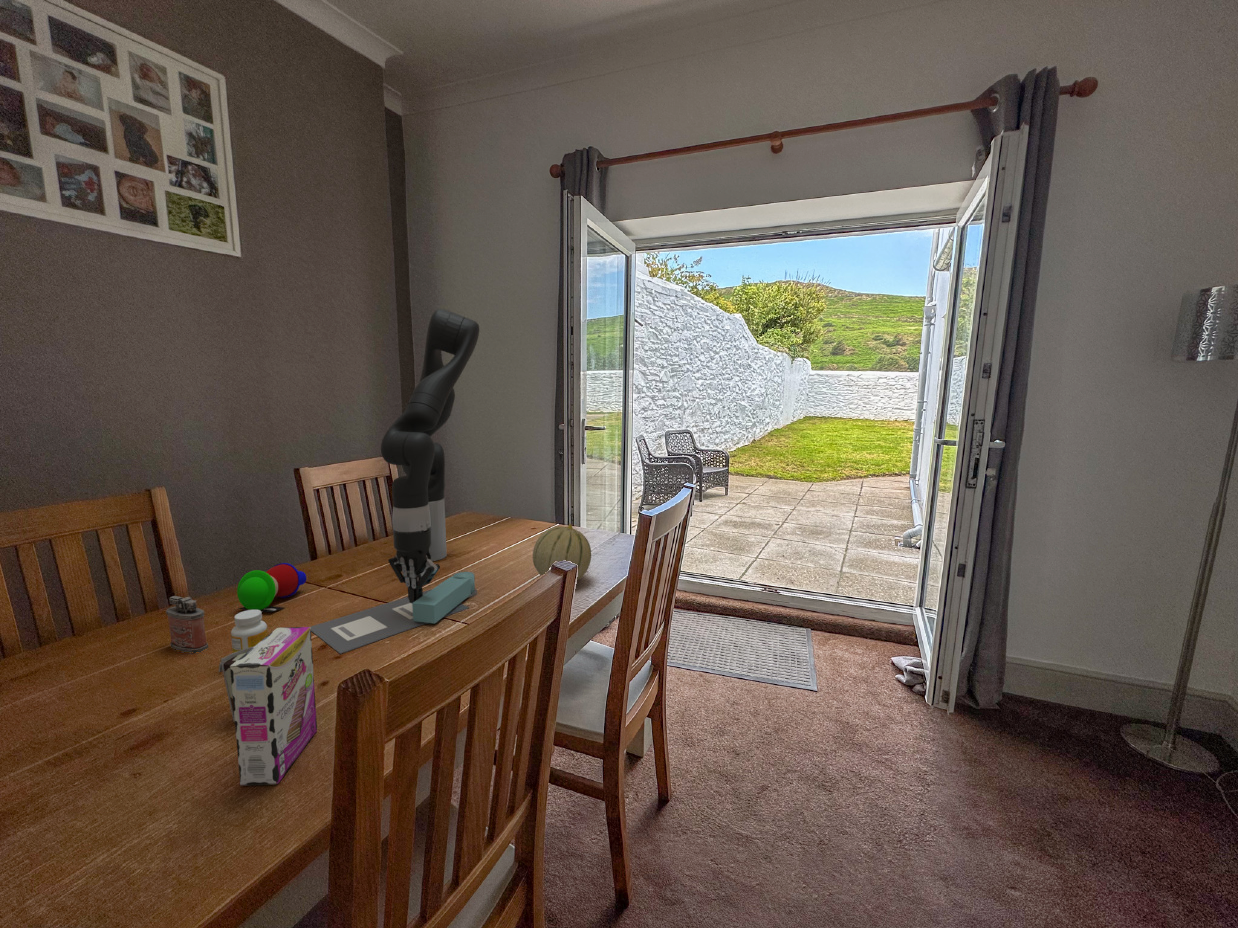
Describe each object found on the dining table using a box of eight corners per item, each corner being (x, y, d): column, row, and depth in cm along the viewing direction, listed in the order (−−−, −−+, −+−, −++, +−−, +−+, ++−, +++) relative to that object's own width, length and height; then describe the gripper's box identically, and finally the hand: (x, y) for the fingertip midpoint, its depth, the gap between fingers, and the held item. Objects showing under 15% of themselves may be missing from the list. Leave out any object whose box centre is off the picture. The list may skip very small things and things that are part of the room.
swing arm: (413, 621, 114) (412, 603, 114) (459, 586, 134) (459, 570, 133) (434, 623, 113) (434, 605, 113) (478, 588, 133) (478, 572, 132)
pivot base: (446, 594, 131) (446, 592, 131) (467, 587, 135) (467, 585, 135) (460, 600, 127) (460, 598, 127) (482, 593, 131) (482, 591, 131)
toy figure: (277, 601, 132) (227, 616, 117) (275, 562, 132) (224, 572, 117) (312, 599, 131) (266, 614, 116) (310, 559, 131) (264, 570, 116)
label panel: (307, 628, 112) (307, 627, 112) (431, 590, 133) (431, 589, 133) (340, 654, 102) (340, 652, 102) (469, 608, 123) (469, 607, 123)
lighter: (213, 647, 104) (207, 597, 103) (194, 655, 101) (188, 604, 100) (184, 640, 107) (178, 591, 105) (165, 648, 104) (159, 598, 102)
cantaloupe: (522, 588, 135) (520, 529, 133) (551, 569, 148) (550, 515, 146) (575, 597, 130) (575, 536, 127) (600, 577, 143) (600, 521, 141)
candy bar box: (280, 785, 69) (269, 665, 67) (239, 787, 69) (225, 666, 66) (320, 729, 80) (312, 624, 78) (285, 731, 80) (275, 625, 77)
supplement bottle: (229, 674, 95) (224, 622, 93) (240, 659, 100) (235, 609, 98) (265, 669, 96) (260, 618, 95) (274, 655, 101) (269, 606, 100)
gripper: (374, 525, 115) (379, 603, 118) (422, 534, 109) (426, 615, 112) (402, 517, 121) (406, 590, 124) (448, 525, 116) (451, 601, 119)
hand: (415, 602), depth 118 cm, fingers closed
